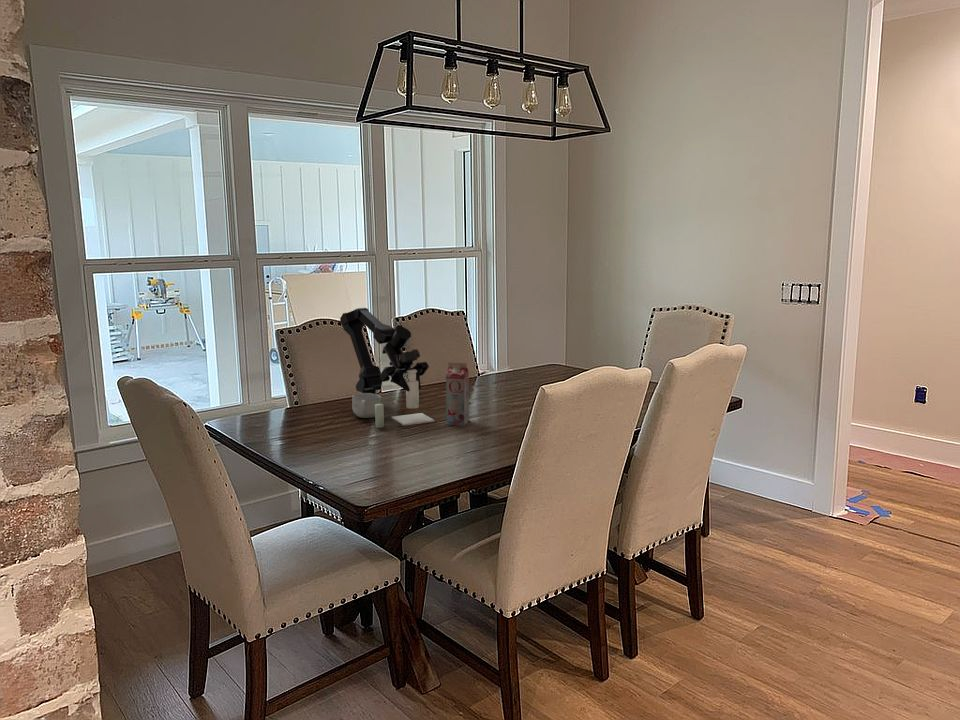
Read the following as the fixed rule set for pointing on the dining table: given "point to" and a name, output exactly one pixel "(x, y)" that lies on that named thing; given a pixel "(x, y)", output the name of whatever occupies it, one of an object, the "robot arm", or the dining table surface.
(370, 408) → the teacup
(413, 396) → the vase
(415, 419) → the mat
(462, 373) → the juice carton
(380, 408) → the post
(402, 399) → the dining table surface
